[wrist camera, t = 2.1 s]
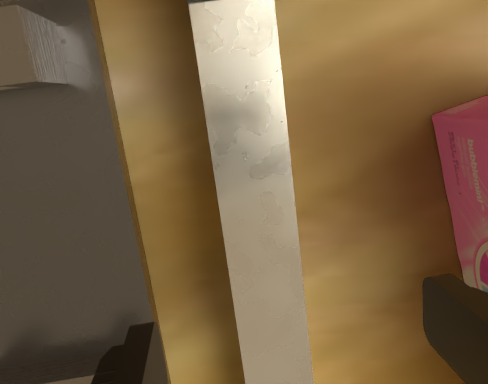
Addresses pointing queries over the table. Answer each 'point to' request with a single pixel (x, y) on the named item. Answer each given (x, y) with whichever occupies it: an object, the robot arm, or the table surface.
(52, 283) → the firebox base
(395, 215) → the table surface
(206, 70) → the pale grey long bar
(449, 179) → the gum box
